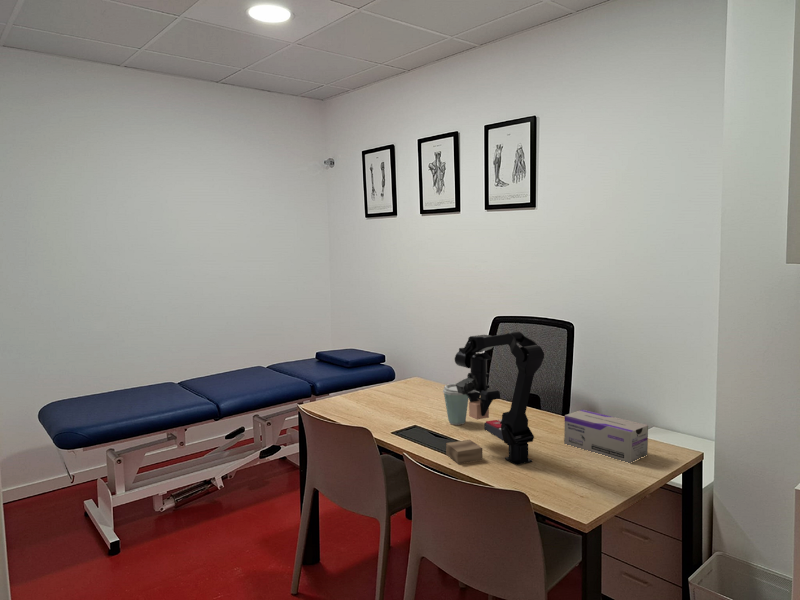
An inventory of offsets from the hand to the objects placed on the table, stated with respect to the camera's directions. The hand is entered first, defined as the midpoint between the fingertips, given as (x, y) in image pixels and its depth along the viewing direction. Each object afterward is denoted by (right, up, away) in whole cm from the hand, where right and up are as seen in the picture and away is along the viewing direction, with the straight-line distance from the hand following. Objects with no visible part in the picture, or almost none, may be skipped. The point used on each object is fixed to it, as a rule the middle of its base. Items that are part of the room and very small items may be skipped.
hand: (478, 413), depth 208 cm
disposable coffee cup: (-5, -9, +26) cm, 28 cm away
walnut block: (-7, -13, -12) cm, 19 cm away
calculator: (+12, -10, +13) cm, 20 cm away
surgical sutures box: (+42, -11, -7) cm, 44 cm away
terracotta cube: (0, -1, 0) cm, 1 cm away
